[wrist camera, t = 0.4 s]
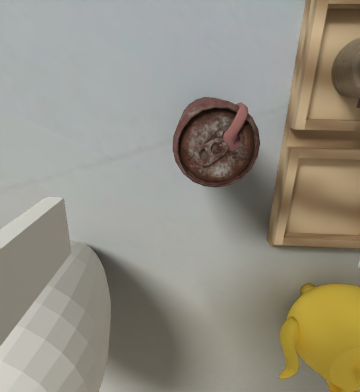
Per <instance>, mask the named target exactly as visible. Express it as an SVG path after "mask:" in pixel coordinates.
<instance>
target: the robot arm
mask: <svg viewBox="0 0 360 392" xmlns="http://www.w3.org/2000/svg"><path fill="white" fill-rule="evenodd" d="M70 254H71V246H70V239H69V232H68V225H67V218H66V211H65V204H64V198H53V197H46V198H44V199H43V200H41V201H40V202H39V203H37V204H36V205H34V206H33V207H32V208H30V209H29V210H27V211H26V212H24V213H23V214H22V215H20V216H19V217H17V218H16V219H15V220H13V221H12V222H10V223H9V224H7V225H6V226H5V227H3V228H2V229H0V346H1V345H2V344H3V342H4V341H5V340H6V338H7V337H8V336H9V334H10V333H11V332H12V330H13V329H14V328H15V326H16V325H17V324H18V323H19V321H20V320H21V319H22V317H23V316H24V315H25V313H26V312H27V311H28V309H29V308H30V307H31V305H32V304H33V303H34V301H35V300H36V299H37V298H38V296H39V295H40V294H41V292H42V291H43V290H44V288H45V287H46V286H47V284H48V283H49V282H50V280H51V279H52V278H53V276H54V275H55V274H56V273H57V271H58V270H59V269H60V267H61V266H62V265H63V263H64V262H65V261H66V259H67V258H68V257H69V255H70ZM358 267H359V269H360V260H359V263H358Z"/></svg>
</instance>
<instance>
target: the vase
mask: <svg viewBox="0 0 360 392" xmlns="http://www.w3.org/2000/svg"><path fill="white" fill-rule="evenodd" d="M70 246H71V254H70V255H69V257H68V258H67V259H66V261H65V262H64V263H63V265H62V266H61V267H60V269H59V270H58V271H57V273H56V274H55V275H54V276H53V278H52V279H51V280H50V282H49V283H48V284H47V286H46V287H45V288H44V290H43V291H42V292H41V294H40V295H39V296H38V298H37V299H36V300H35V301H34V303H33V304H32V305H31V307H30V308H29V309H28V311H27V312H26V313H25V315H24V316H23V317H22V319H21V320H20V321H19V323H18V324H17V325H16V326H15V328H14V329H13V330H12V332H11V333H10V334H9V336H8V337H7V338H6V340H5V341H4V342H3V344H2V345H1V346H0V392H99V389H100V386H101V382H102V379H103V376H104V373H105V369H106V366H107V361H108V350H109V337H110V325H111V300H110V293H109V287H108V283H107V279H106V274H105V270H104V268H103V266H102V263H101V261H100V259H99V258H98V256H97V254H96V253H95V251H94V250H93V249H92V248H91V247H89V246H88V245H86V244H84V243H82V242H78V241H70Z"/></svg>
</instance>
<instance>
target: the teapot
mask: <svg viewBox="0 0 360 392" xmlns="http://www.w3.org/2000/svg"><path fill="white" fill-rule="evenodd" d="M300 293H301V294H302V295H301V296H300V297H299V298H298V299H297V300H296V301H295V303H294V304H293V305H292V307H291V309H290V311H289V313H288V316H287V319H286V321H285V322H284V324H283V325H282V327H281V331H280V342H281V346H282V349H283V352H284V355H285V358H286V367H285V369H284V370H283V372H282V373H281V374H280V375H279V379H286V378H289V377H292V376H293V375H295V374H296V373H297V371H298V369H299V360H298V356H297V353H298V354H299V356H300V357H301V358H302V359H303V360H304V361H305V362H306V363H307V365H309V366H310V367H311V368H312V369H313V370H315V371H316V372H317V373H318V374H320V375H321V376H322V377H324V378H325V379H326V381H327V383H328V386H329V389H330V391H331V392H355V391H359V390H360V287H357V286H353V285H348V284H325V285H320V286H317V287H315V285H313V284H310V283H308V284H305V285H303V286H302V287H301V288H300ZM341 388H342V389H341Z"/></svg>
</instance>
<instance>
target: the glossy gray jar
mask: <svg viewBox="0 0 360 392" xmlns="http://www.w3.org/2000/svg"><path fill="white" fill-rule="evenodd" d="M331 78H332V83H333V85H334V87H335V89H336V90H337V91H338V92H339V93H340V94H341V95H343V96H345V97H349V98H359V100H358V104H357V107H356V108H360V38H357V39H354V40H352V41H351V42H349V43H348V44H346V45H345V46H344V47H343V48H342V49H341V50H340V52H339V53H338V55H337V56H336V58H335V60H334V63H333V66H332V71H331Z"/></svg>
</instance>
